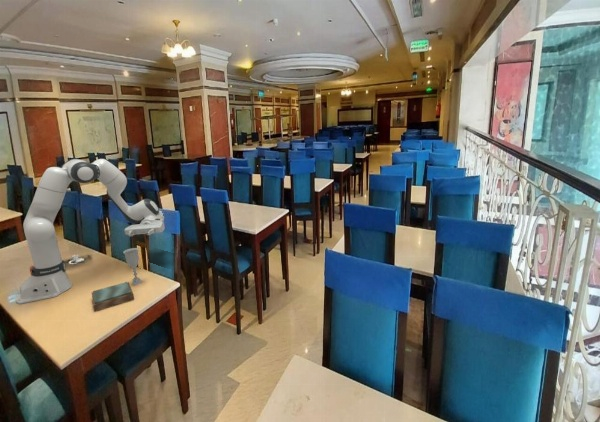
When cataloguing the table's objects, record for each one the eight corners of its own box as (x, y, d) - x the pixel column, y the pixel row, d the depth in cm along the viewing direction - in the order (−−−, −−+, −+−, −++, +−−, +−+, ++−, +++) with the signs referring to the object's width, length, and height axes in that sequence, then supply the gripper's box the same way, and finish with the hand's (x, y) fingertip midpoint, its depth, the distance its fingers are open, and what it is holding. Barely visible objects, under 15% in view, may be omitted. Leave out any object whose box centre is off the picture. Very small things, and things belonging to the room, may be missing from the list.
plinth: (94, 311, 142) (93, 303, 141) (92, 298, 153) (91, 291, 152) (134, 299, 151) (132, 292, 150) (129, 287, 162) (128, 280, 161)
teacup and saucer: (84, 262, 195) (82, 256, 194) (68, 266, 191) (67, 260, 190) (84, 258, 202) (82, 252, 201) (68, 261, 198) (67, 255, 197)
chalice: (137, 286, 163) (131, 253, 158) (126, 285, 164) (119, 253, 160) (147, 279, 170) (141, 248, 165) (136, 278, 171) (130, 247, 166)
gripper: (129, 221, 184) (118, 230, 171) (165, 218, 184) (156, 227, 171) (132, 231, 186) (120, 241, 173) (167, 228, 186) (159, 238, 173)
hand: (139, 234), depth 172 cm, fingers open, 8 cm apart
